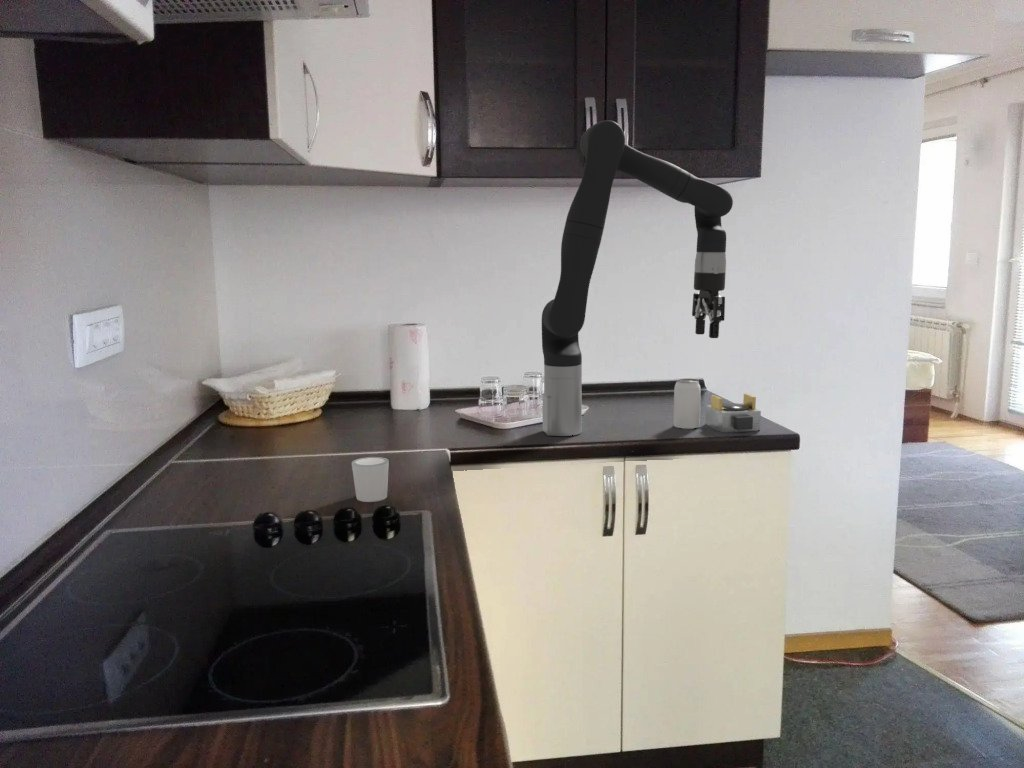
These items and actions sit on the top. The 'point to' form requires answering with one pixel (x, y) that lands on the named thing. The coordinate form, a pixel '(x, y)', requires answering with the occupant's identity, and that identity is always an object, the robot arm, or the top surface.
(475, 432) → the top surface
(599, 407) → the top surface
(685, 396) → the can
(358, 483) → the light grey cup
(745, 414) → the motor housing
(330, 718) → the top surface
